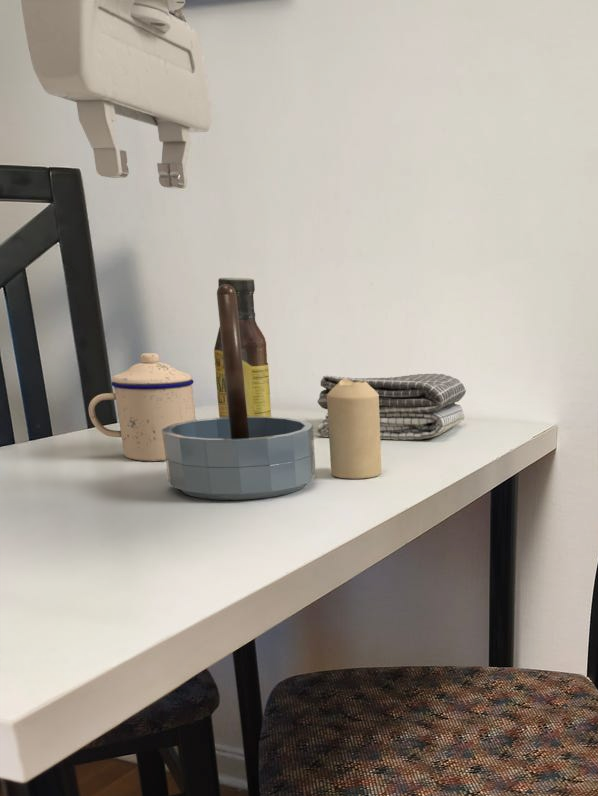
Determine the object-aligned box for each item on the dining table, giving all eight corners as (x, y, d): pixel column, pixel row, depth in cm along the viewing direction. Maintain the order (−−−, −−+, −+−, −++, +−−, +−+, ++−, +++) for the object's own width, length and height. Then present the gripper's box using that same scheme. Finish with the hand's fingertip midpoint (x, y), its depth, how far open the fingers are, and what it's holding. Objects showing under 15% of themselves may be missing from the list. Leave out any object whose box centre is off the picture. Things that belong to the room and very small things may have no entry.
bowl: (150, 502, 86) (142, 439, 83) (193, 470, 99) (187, 415, 97) (302, 502, 86) (298, 440, 84) (324, 471, 99) (321, 416, 97)
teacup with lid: (200, 446, 113) (189, 349, 108) (202, 459, 105) (191, 356, 100) (98, 450, 109) (83, 351, 105) (93, 465, 101) (76, 358, 97)
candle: (321, 473, 98) (315, 380, 94) (361, 466, 102) (357, 376, 98) (351, 481, 95) (346, 384, 91) (391, 474, 98) (388, 380, 94)
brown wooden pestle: (209, 484, 90) (187, 284, 82) (223, 472, 95) (204, 283, 88) (265, 484, 90) (248, 284, 82) (276, 472, 95) (261, 283, 88)
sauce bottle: (213, 448, 111) (195, 277, 104) (258, 443, 115) (244, 277, 107) (238, 456, 107) (221, 278, 99) (284, 450, 111) (271, 278, 103)
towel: (444, 442, 117) (444, 380, 114) (311, 437, 119) (307, 376, 116) (467, 424, 130) (467, 368, 127) (347, 420, 133) (344, 365, 130)
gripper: (150, 10, 75) (170, 193, 80) (-11, -76, 56) (29, 169, 62) (221, 7, 74) (237, 193, 79) (81, -81, 55) (114, 169, 61)
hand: (145, 182), depth 70 cm, fingers open, 8 cm apart
